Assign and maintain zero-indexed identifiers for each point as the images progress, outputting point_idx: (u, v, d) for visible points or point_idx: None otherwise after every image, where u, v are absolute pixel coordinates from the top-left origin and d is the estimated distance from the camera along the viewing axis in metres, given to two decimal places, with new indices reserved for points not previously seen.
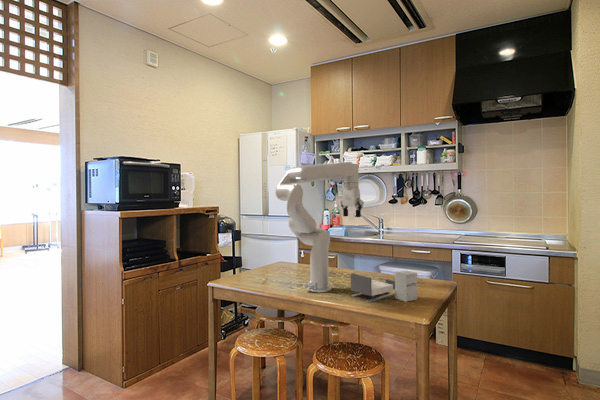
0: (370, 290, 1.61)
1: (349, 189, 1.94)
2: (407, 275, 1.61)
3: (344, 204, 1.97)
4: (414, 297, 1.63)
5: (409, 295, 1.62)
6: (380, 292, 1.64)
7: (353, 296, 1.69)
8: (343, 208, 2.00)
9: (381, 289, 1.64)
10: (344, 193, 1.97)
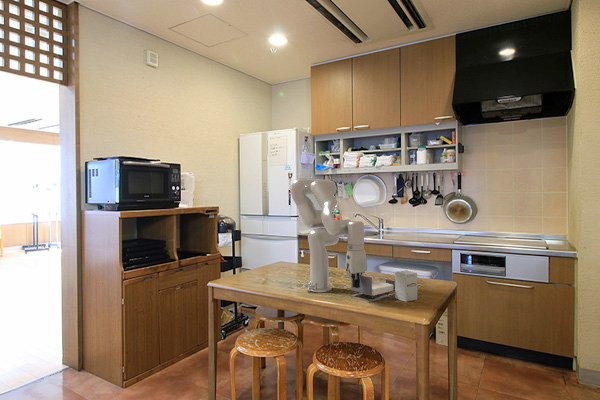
0: (370, 290, 1.61)
1: (361, 252, 1.62)
2: (407, 275, 1.61)
3: (355, 271, 1.60)
4: (414, 297, 1.63)
5: (409, 295, 1.62)
6: (380, 292, 1.64)
7: (353, 296, 1.69)
8: (356, 277, 1.62)
9: (381, 289, 1.64)
10: (355, 258, 1.60)
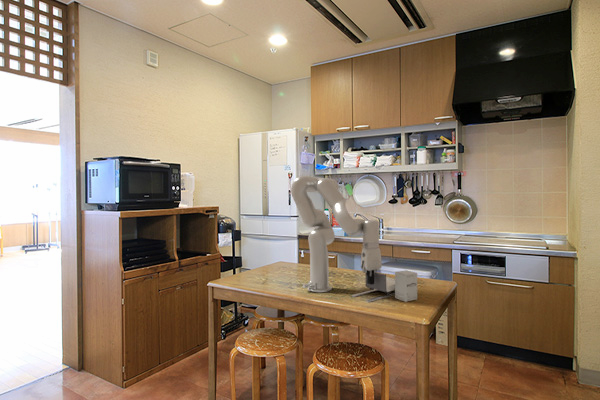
0: (385, 286, 1.67)
1: (376, 250, 1.68)
2: (407, 275, 1.61)
3: (370, 268, 1.66)
4: (414, 297, 1.63)
5: (409, 295, 1.62)
6: (394, 288, 1.70)
7: (353, 296, 1.69)
8: (371, 274, 1.68)
9: None
10: (370, 255, 1.66)
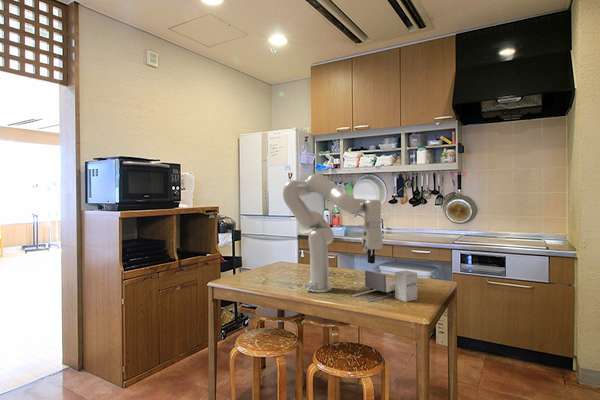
0: (384, 286, 1.67)
1: (377, 229, 1.69)
2: (407, 275, 1.61)
3: (371, 247, 1.67)
4: (414, 297, 1.63)
5: (409, 295, 1.62)
6: (394, 288, 1.70)
7: (353, 296, 1.69)
8: (372, 253, 1.69)
9: None
10: (372, 234, 1.67)
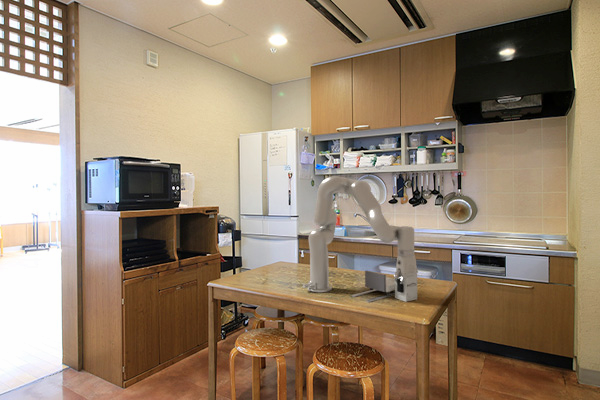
0: (384, 286, 1.67)
1: (412, 257, 1.64)
2: (407, 275, 1.61)
3: None
4: (414, 297, 1.63)
5: (409, 295, 1.62)
6: (394, 288, 1.70)
7: (353, 296, 1.69)
8: (402, 282, 1.61)
9: None
10: (406, 263, 1.61)
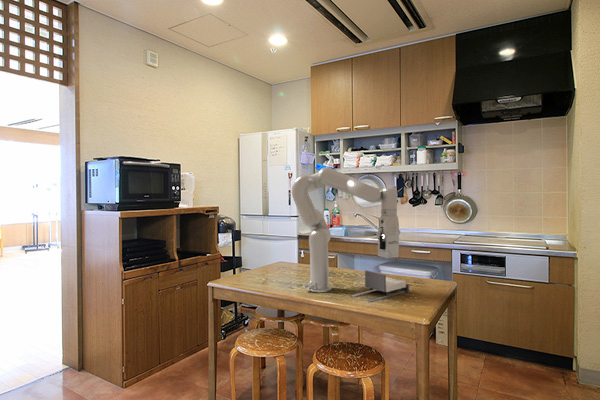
0: (384, 286, 1.67)
1: (394, 217, 1.73)
2: (389, 233, 1.70)
3: None
4: (395, 254, 1.72)
5: (391, 252, 1.71)
6: (394, 288, 1.70)
7: (353, 296, 1.69)
8: (384, 240, 1.71)
9: (395, 286, 1.70)
10: (389, 222, 1.70)
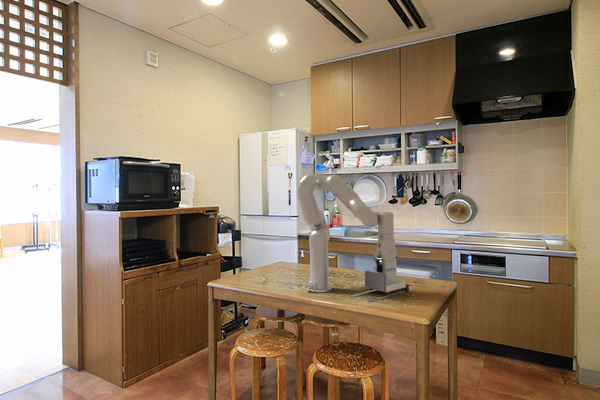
0: (384, 286, 1.67)
1: (391, 240, 1.75)
2: (387, 260, 1.72)
3: (386, 258, 1.72)
4: (394, 281, 1.75)
5: (389, 279, 1.73)
6: (394, 288, 1.70)
7: (353, 296, 1.69)
8: (380, 263, 1.72)
9: (395, 286, 1.70)
10: (386, 246, 1.72)
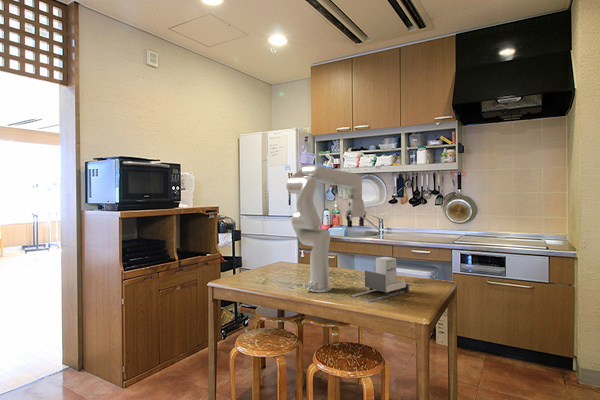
0: (384, 286, 1.67)
1: (360, 200, 2.04)
2: (387, 260, 1.72)
3: (355, 215, 2.02)
4: (393, 281, 1.75)
5: (389, 279, 1.73)
6: (394, 288, 1.69)
7: (353, 296, 1.69)
8: (350, 219, 2.02)
9: (395, 286, 1.70)
10: (355, 204, 2.02)
